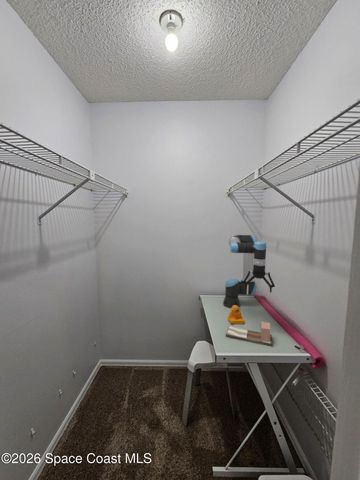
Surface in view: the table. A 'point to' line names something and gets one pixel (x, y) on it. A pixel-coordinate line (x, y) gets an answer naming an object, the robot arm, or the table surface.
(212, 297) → the table surface
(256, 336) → the board
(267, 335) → the stub
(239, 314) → the bracket
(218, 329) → the table surface
